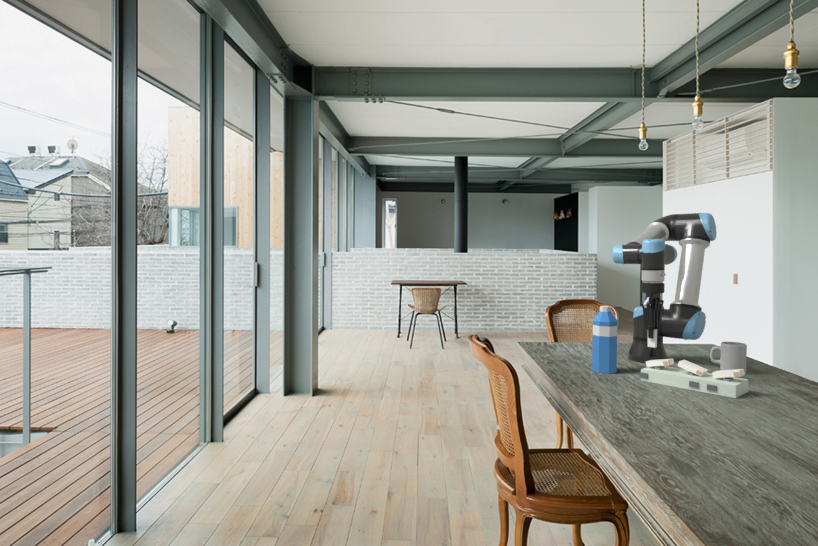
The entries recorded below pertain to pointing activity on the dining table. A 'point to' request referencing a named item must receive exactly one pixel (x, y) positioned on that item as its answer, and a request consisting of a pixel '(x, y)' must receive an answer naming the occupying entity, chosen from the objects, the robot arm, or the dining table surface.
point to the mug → (731, 355)
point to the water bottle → (604, 342)
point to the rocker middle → (692, 367)
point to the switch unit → (695, 381)
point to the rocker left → (659, 362)
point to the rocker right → (728, 373)
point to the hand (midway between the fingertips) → (652, 346)
